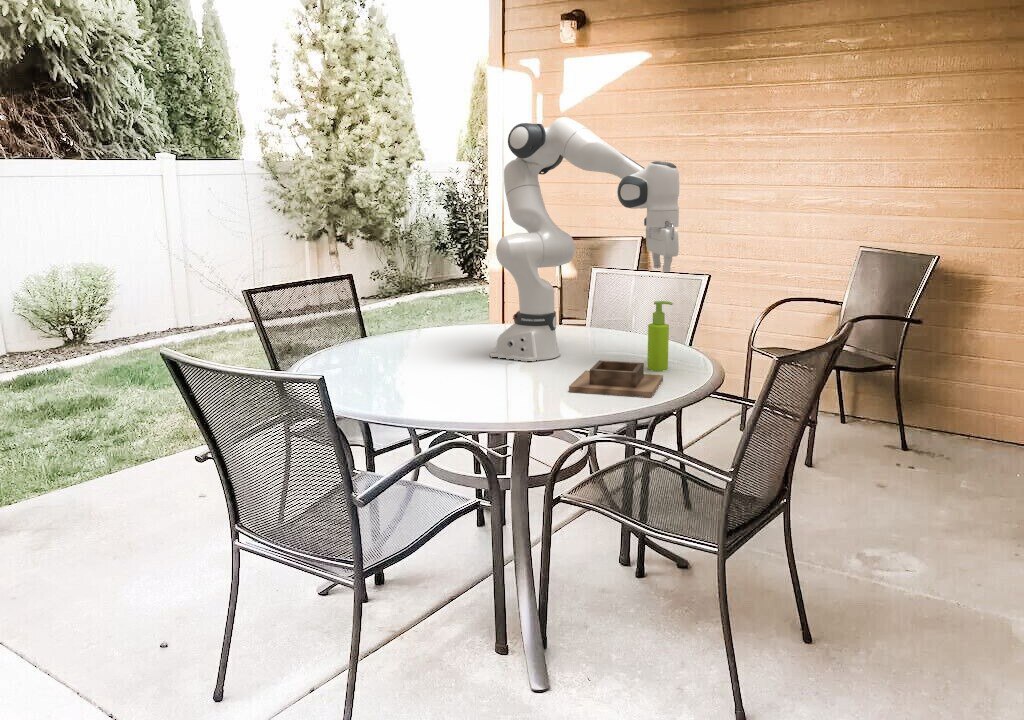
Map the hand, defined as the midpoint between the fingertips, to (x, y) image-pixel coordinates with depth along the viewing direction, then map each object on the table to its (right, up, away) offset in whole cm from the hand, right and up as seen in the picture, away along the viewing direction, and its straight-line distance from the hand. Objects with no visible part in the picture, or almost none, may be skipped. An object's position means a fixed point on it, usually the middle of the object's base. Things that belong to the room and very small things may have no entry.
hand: (661, 270), depth 222 cm
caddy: (-14, -33, -11) cm, 37 cm away
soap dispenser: (+1, -29, +7) cm, 29 cm away
